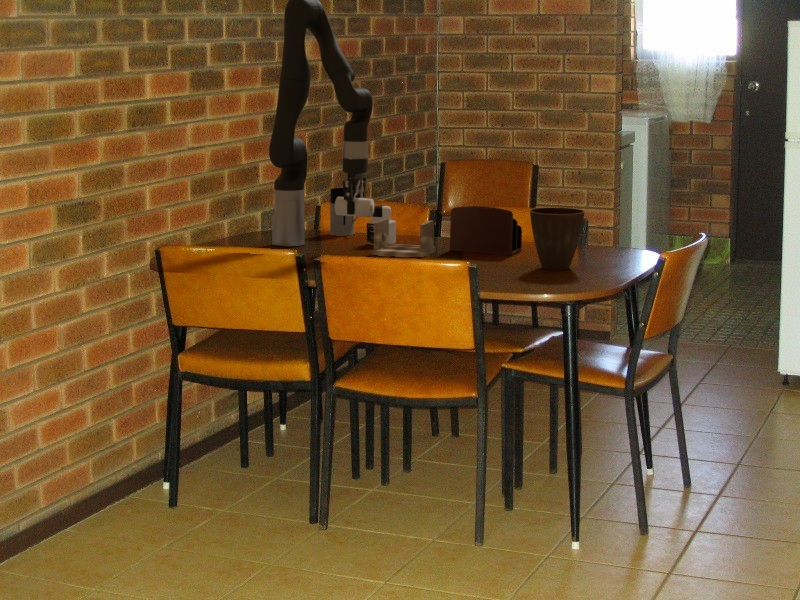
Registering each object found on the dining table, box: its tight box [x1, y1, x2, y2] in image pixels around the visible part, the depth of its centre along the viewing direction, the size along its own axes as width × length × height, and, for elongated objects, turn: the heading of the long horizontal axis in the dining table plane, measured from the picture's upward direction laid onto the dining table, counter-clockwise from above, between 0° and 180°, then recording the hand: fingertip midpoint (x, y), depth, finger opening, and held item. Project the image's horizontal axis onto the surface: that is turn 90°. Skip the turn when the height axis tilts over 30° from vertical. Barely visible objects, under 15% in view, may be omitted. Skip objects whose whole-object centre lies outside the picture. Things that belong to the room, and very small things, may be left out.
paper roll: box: [335, 197, 375, 218], centre depth 361 cm, size 11×6×6 cm, turn 72°
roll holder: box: [371, 219, 436, 258], centre depth 359 cm, size 15×14×10 cm
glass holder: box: [328, 187, 359, 237], centre depth 398 cm, size 9×14×15 cm, turn 40°
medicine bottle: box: [366, 204, 397, 246], centre depth 379 cm, size 7×7×12 cm
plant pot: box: [529, 207, 586, 271], centre depth 333 cm, size 15×15×16 cm
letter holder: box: [449, 205, 523, 256], centre depth 365 cm, size 10×20×14 cm, turn 66°
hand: (354, 213), depth 361 cm, fingers closed on paper roll, 5 cm apart
